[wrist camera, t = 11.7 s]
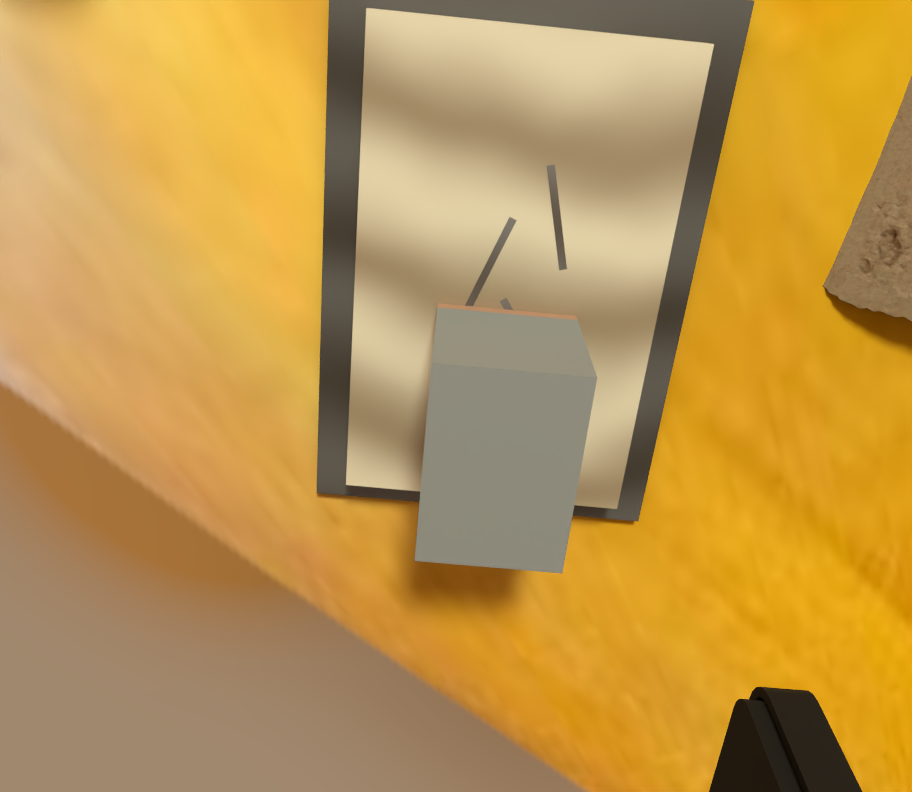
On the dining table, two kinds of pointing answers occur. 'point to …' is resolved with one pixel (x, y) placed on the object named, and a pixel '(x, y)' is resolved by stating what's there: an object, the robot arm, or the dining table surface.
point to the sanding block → (503, 438)
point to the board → (514, 208)
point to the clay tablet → (881, 231)
